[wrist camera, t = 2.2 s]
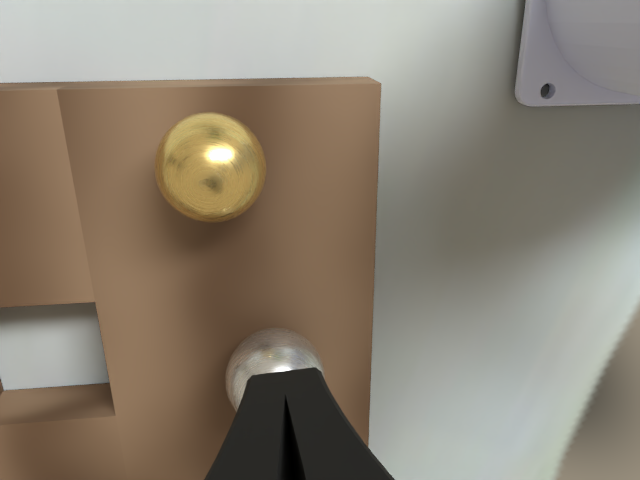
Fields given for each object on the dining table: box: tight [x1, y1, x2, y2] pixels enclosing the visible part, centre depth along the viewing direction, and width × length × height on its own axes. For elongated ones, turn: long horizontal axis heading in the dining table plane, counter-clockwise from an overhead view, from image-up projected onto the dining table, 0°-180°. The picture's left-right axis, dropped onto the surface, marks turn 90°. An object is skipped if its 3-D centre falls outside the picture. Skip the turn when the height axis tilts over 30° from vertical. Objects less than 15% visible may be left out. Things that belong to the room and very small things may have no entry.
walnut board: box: [0, 77, 381, 480], centre depth 20 cm, size 16×18×2 cm
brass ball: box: [154, 112, 266, 223], centre depth 15 cm, size 3×3×3 cm
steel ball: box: [225, 328, 325, 412], centre depth 18 cm, size 3×3×3 cm
